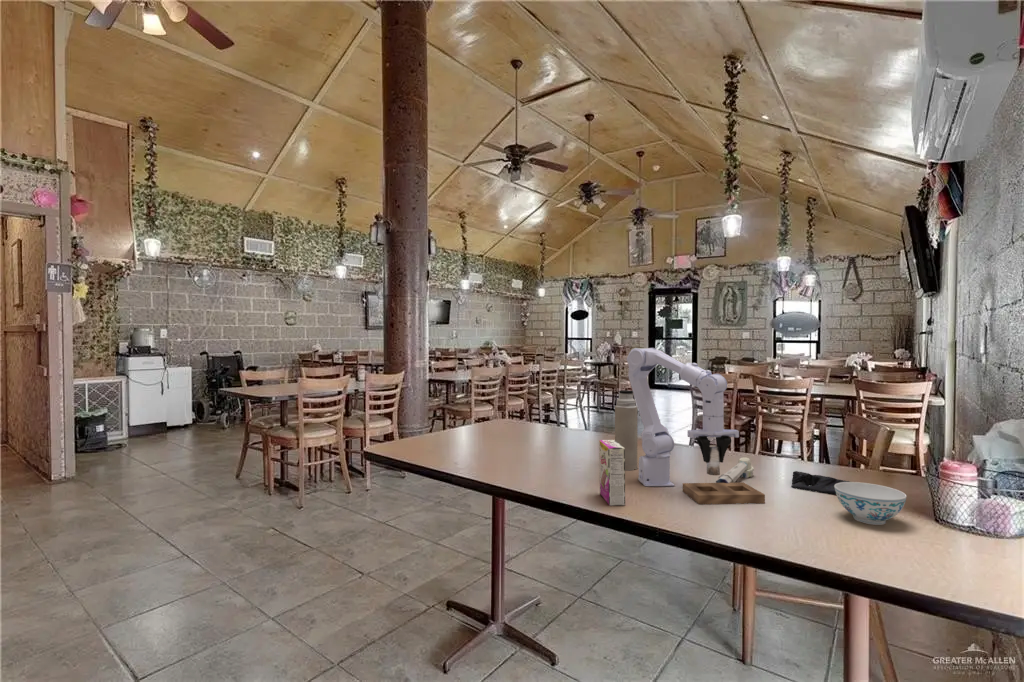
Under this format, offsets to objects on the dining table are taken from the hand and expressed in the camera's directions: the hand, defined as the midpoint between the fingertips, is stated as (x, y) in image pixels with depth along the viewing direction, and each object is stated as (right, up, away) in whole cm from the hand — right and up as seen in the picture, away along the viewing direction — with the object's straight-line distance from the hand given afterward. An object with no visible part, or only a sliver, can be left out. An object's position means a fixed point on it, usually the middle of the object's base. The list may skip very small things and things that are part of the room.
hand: (713, 461), depth 146 cm
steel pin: (0, -4, 0) cm, 3 cm away
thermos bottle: (-18, -11, +34) cm, 40 cm away
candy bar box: (-30, -11, -2) cm, 32 cm away
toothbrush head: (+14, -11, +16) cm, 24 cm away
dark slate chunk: (+40, -11, +8) cm, 43 cm away
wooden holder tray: (+3, -10, 0) cm, 11 cm away
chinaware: (+32, -11, -19) cm, 39 cm away
